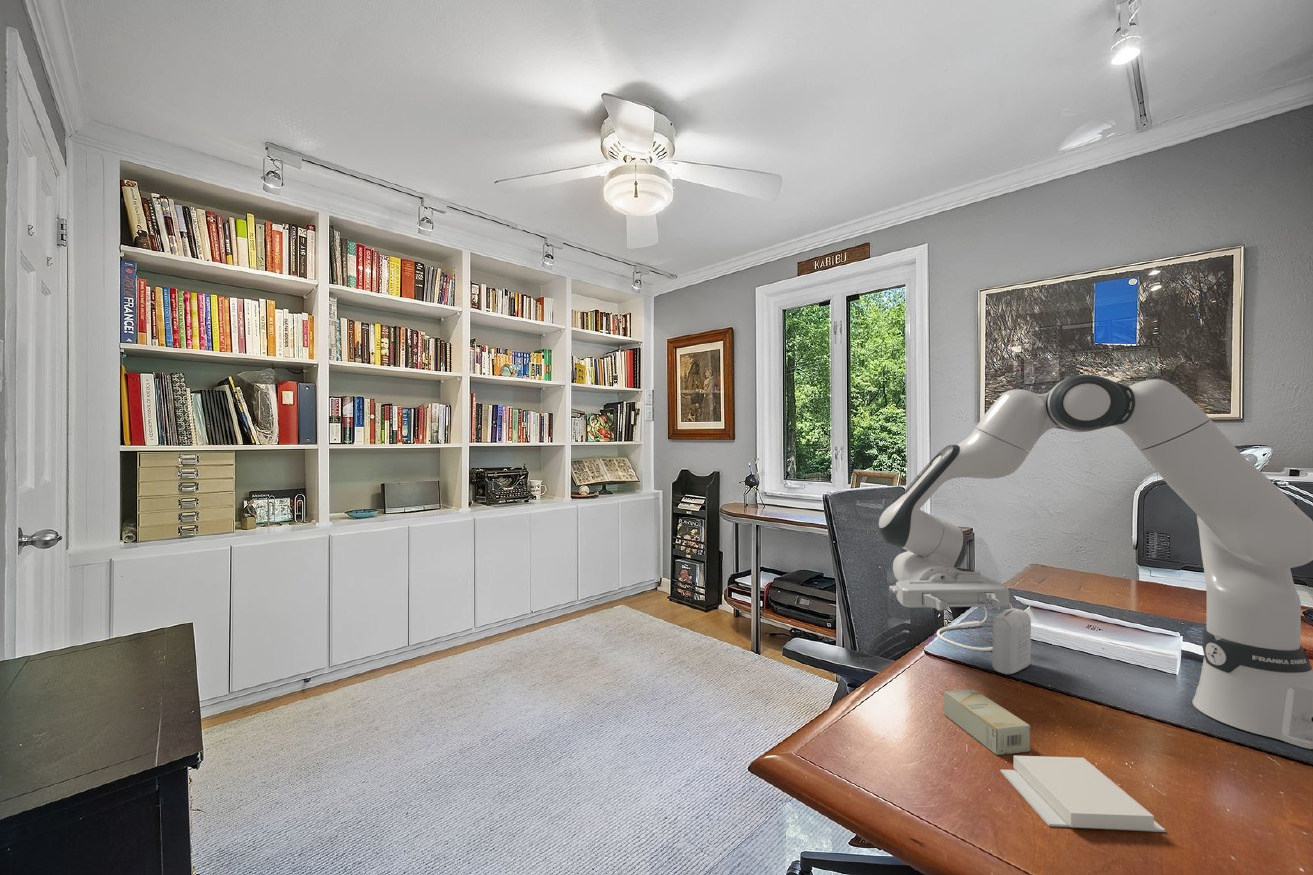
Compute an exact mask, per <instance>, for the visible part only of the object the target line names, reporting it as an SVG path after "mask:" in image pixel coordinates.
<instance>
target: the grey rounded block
mask: <svg viewBox="0 0 1313 875" xmlns="http://www.w3.org/2000/svg"><path fill="white" fill-rule="evenodd" d="M1031 636H1032V620H1031V616H1030V615H1029V614H1028V612H1027V611H1025V610H1023V609H1019V608H1014V607H1013V609H1011V608H1008V609H1006V610H1003V611H1001V612H1000V613H998V614H997V616H996V617H995V618H994V619H993V622H992V646H991V647H992V651H991V652H992V654H991V656H992V657H991V659H992V660H991V661H992V668H993V669H994V670H995V671H996V672H998V673H1001V674H1002V675H1003V674H1004V675H1013V674H1015V673H1017V672H1020V671H1022V670H1023V669H1026V668H1027V667H1029V666H1030V665H1031V655H1032V654H1031V653H1032V652H1031V650H1032V648H1031V647H1032V646H1031V644H1032V637H1031Z"/></svg>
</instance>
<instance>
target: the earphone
mask: <svg viewBox="0 0 1313 875" xmlns="http://www.w3.org/2000/svg"><path fill="white" fill-rule="evenodd" d="M1008 605H1009V606H1010V607H1011V608H1010V609H1013V608H1014V607H1013V605H1012V603H1010V602H1009V604H1008ZM983 609H984V612H985V617H984V619H983V620H981V621H979V620H975V621H966V622H960V623H958V624H955V625H948V626H945V627H941V628H939V629H937V631H936V636H937V637H938V638H939V639H940V640H942V641H944V642H945V641H946V642H945V643H947V642H948V644H951V645H953V646H956V647H958V646H959V648H963V649H966V650H972V651H977V652H992V646H991V647H990V646H988V647H978V646H977V647H975V646H970V645H965V644H961V643H958V642H955V641H952V640H950V639H947V638H945V637H944V636H942V635H941V633H942V632H944V631H947V630H948V631H949V630H953V629H958V628H959V629H967V628H968V627H969V628H975V627H980V626H982V624H983V623H984V622H985V621H986V620H987V618H988V612H987V609H986V607H983Z"/></svg>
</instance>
